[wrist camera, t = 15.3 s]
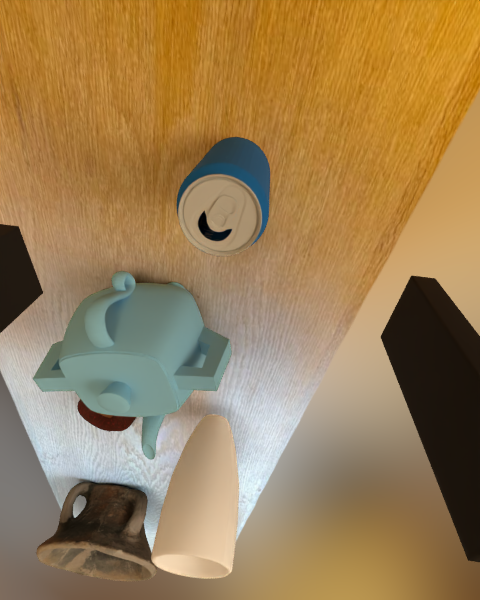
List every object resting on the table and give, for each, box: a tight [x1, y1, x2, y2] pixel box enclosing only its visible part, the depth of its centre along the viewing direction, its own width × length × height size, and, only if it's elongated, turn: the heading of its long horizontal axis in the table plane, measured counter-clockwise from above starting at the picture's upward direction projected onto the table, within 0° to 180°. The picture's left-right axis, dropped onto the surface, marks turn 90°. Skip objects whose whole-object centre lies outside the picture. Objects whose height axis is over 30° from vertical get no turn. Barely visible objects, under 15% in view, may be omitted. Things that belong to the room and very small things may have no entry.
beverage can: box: [177, 137, 270, 257], centre depth 25 cm, size 6×6×12 cm
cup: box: [151, 414, 239, 578], centre depth 44 cm, size 10×10×22 cm
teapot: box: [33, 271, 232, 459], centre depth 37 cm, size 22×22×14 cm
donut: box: [78, 399, 136, 432], centre depth 53 cm, size 10×10×4 cm
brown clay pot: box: [37, 482, 157, 581], centre depth 74 cm, size 27×26×15 cm
